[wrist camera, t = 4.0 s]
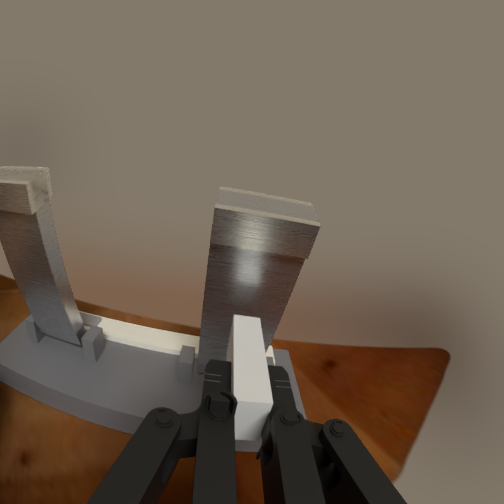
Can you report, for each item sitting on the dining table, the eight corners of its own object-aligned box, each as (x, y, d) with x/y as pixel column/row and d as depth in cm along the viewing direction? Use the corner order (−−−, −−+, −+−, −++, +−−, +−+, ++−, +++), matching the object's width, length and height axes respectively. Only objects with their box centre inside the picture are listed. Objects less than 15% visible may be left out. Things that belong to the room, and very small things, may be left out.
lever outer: (195, 380, 23) (214, 207, 13) (198, 357, 24) (220, 186, 15) (252, 387, 23) (320, 226, 13) (252, 364, 25) (312, 203, 15)
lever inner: (42, 340, 21) (-20, 181, 11) (50, 322, 23) (2, 166, 13) (82, 354, 21) (26, 184, 11) (90, 334, 23) (48, 167, 13)
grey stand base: (-4, 379, 16) (-21, 335, 15) (46, 323, 28) (40, 284, 26) (299, 452, 20) (320, 415, 18) (281, 369, 31) (293, 331, 30)
